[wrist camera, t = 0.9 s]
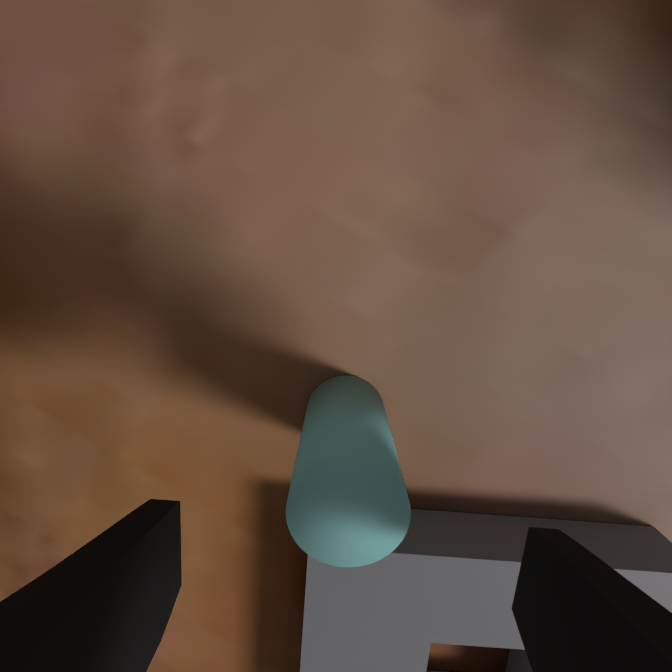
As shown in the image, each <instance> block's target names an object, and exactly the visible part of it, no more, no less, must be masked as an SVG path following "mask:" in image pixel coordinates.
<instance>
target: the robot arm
mask: <svg viewBox="0 0 672 672" xmlns="http://www.w3.org/2000/svg"><path fill="white" fill-rule="evenodd" d="M180 587H181V526H180V501H170V500H157V499H150V500H148V501H147V502H145V503H144V504H142V505H141V506H139V507H138V508H137V509H135V510H134V511H132V512H131V513H129V514H128V515H127V516H125V517H124V518H122V519H121V520H120V521H118V522H117V523H115V524H114V525H113V526H111V527H110V528H108V529H107V530H106V531H104V532H103V533H101V534H100V535H99V536H97V537H96V538H94V539H93V540H91V541H90V542H89V543H87V544H86V545H84V546H83V547H81V548H80V549H79V550H77V551H76V552H74V553H73V554H71V555H70V556H69V557H67V558H66V559H64V560H63V561H61V562H60V563H58V564H57V565H56V566H54V567H53V568H51V569H50V570H48V571H47V572H45V573H44V574H42V575H41V576H39V577H38V578H36V579H35V580H33V581H32V582H30V583H29V584H27V585H26V586H24V587H22V588H21V589H19V590H18V591H16V592H15V593H13V594H12V595H10V596H9V597H7V598H6V599H4V600H2V601H1V602H0V672H146V671H147V669H148V666H149V664H150V662H151V660H152V658H153V656H154V654H155V652H156V650H157V648H158V646H159V643H160V641H161V639H162V636H163V633H164V631H165V628H166V626H167V623H168V620H169V618H170V615H171V612H172V609H173V607H174V604H175V601H176V598H177V595H178V593H179V590H180ZM512 611H513V615H514V618H515V621H516V624H517V627H518V630H519V633H520V636H521V640H522V643H523V645H524V648H525V651H526V654H527V657H528V660H529V663H530V665H531V668H532V670H533V672H672V613H671V612H670V611H669V610H667V609H666V608H665V607H663V606H662V605H661V604H659V603H658V602H657V601H655V600H654V599H653V598H651V597H650V596H649V595H647V594H646V593H645V592H643V591H642V590H641V589H639V588H638V587H637V586H635V585H634V584H633V583H631V582H630V581H629V580H627V579H626V578H625V577H623V576H622V575H621V574H619V573H618V572H617V571H615V570H614V569H613V568H612V567H610V566H609V565H608V564H606V563H605V562H604V561H602V560H601V559H600V558H598V557H597V556H596V555H594V554H593V553H592V552H590V551H589V550H588V549H586V548H585V547H583V546H582V545H581V544H579V543H578V542H577V541H575V540H574V539H572V538H571V537H570V536H568V535H567V534H565V533H564V532H562V531H561V530H559V529H551V528H537V527H529V528H528V533H527V538H526V543H525V547H524V552H523V557H522V562H521V566H520V571H519V576H518V580H517V585H516V590H515V595H514V599H513V604H512Z"/></svg>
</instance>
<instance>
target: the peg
mask: <svg viewBox="0 0 672 672" xmlns="http://www.w3.org/2000/svg"><path fill="white" fill-rule="evenodd" d="M410 519H411V507H410V502H409V498H408V494H407V490H406V486H405V483H404V479H403V475H402V472H401V468H400V464H399V460H398V457H397V453H396V449H395V446H394V442H393V438H392V434H391V431H390V427H389V423H388V420H387V416H386V412H385V408H384V405H383V401H382V399H381V396H380V394H379V393H378V391H377V390H376V389H375V388H374V387H373V386H372V385H371V384H370V383H369V382H367V381H365V380H364V379H361V378H359V377H355V376H349V375H342V376H336V377H332V378H330V379H327V380H325V381H324V382H322V383H321V384H320V385H319V386H317V387H316V389H315V390H314V391H313V392H312V394H311V396H310V398H309V400H308V404H307V409H306V413H305V418H304V423H303V428H302V432H301V437H300V442H299V447H298V451H297V456H296V461H295V465H294V470H293V475H292V480H291V484H290V489H289V494H288V499H287V504H286V521H287V526H288V529H289V531H290V533H291V535H292V537H293V539H294V540H295V542H296V543H297V545H298V546H299V547H300V548H301V549H302V550H303V551H304V552H306V553H307V554H308V555H309V556H311V557H312V558H314V559H316V560H318V561H320V562H323V563H325V564H328V565H332V566H337V567H360V566H365V565H368V564H372V563H374V562H377V561H379V560H381V559H383V558H384V557H386V556H387V555H389V554H390V553H391V552H392V551H394V550H395V549H396V548H397V547H398V545H399V544H400V543H401V541H402V540H403V539H404V537H405V535H406V533H407V530H408V528H409V524H410Z"/></svg>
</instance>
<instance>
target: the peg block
mask: <svg viewBox="0 0 672 672" xmlns="http://www.w3.org/2000/svg"><path fill="white" fill-rule="evenodd" d="M529 527H537V528H551V529H559V530H561V531H562V532H564V533H565V534H567V535H568V536H570V537H571V538H572V539H574V540H575V541H577V542H578V543H579V544H581V545H582V546H583V547H585V548H586V549H588V550H589V551H590V552H592V553H593V554H594V555H596V556H597V557H598V558H600V559H601V560H602V561H604V562H605V563H606V564H608V565H609V566H610V567H612V568H613V569H614V570H615V571H617V572H618V573H619V574H621V575H622V576H623V577H625V578H626V579H627V580H629V581H630V582H631V583H633V584H634V585H635V586H637V587H638V588H639V589H641V590H642V591H643V592H645V593H646V594H647V595H649V596H650V597H651V598H653V599H654V600H655V601H657V602H658V603H659V604H661V605H662V606H663V607H665V608H666V609H667V610H669V611H670V612H671V613H672V543H671V542H670V541H669V540H668V539H667V538H666V537H665V536H663V535H662V534H661V533H660V532H659V531H658V530H657V529H656V528H655V527H653V526H641V525H627V524H614V523H600V522H586V521H573V520H559V519H545V518H531V517H518V516H504V515H490V514H476V513H463V512H449V511H435V510H421V509H411V519H410V524H409V528H408V530H407V533H406V535H405V537H404V539H403V540H402V541H401V543H400V544H399V545H398V547H397V548H396V549H395V550H394V551H392V552H391V553H390V554H389V555H387V556H386V557H384V558H383V559H381V560H379V561H377V562H374V563H372V564H368V565H365V566H360V567H337V566H332V565H328V564H325V563H323V562H320V561H318V560H316V559H314V558H312V557H311V556H309V555H308V559H307V574H306V589H305V603H304V618H303V632H302V647H301V662H300V672H448V671H434V670H427V664H428V658H429V652H430V645H431V643H437V644H451V645H465V646H479V647H493V648H508V649H510V652H509V656H508V661H507V666H506V670H505V672H533V670H532V668H531V665H530V663H529V660H528V657H527V654H526V651H525V648H524V645H523V643H522V640H521V636H520V633H519V630H518V627H517V624H516V621H515V618H514V615H513V611H512V604H513V599H514V595H515V590H516V585H517V580H518V576H519V571H520V566H521V562H522V557H523V552H524V547H525V543H526V538H527V533H528V528H529Z"/></svg>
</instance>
